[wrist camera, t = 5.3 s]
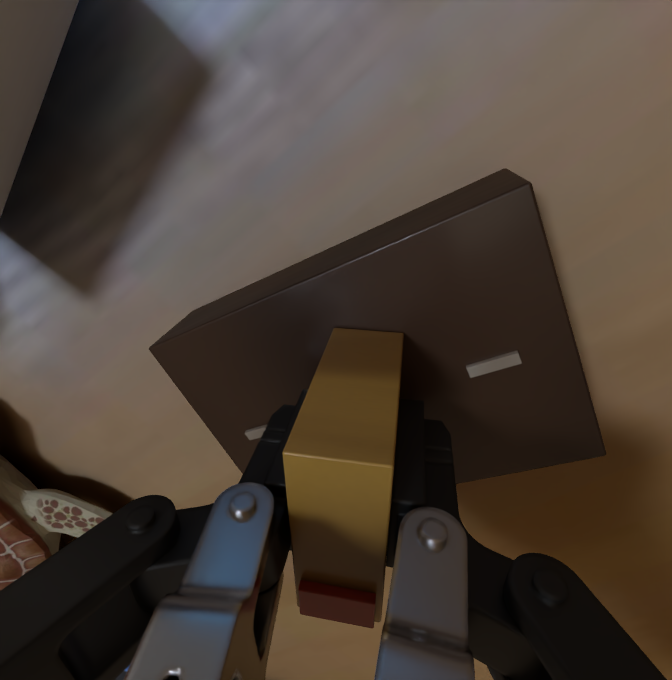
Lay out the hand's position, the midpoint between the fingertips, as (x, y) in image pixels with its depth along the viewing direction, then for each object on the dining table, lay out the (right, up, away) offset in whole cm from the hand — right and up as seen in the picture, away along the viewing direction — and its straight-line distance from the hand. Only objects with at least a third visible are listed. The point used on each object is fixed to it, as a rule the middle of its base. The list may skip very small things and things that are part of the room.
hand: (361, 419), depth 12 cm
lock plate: (+1, +2, +3) cm, 4 cm away
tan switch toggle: (0, 0, +1) cm, 1 cm away
